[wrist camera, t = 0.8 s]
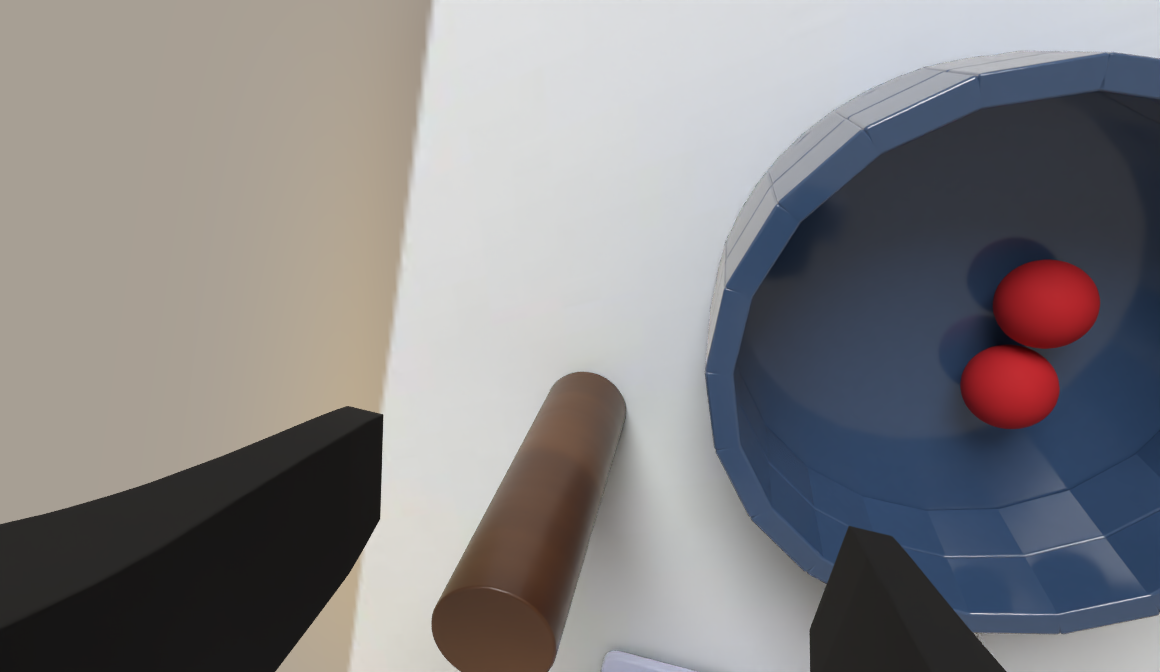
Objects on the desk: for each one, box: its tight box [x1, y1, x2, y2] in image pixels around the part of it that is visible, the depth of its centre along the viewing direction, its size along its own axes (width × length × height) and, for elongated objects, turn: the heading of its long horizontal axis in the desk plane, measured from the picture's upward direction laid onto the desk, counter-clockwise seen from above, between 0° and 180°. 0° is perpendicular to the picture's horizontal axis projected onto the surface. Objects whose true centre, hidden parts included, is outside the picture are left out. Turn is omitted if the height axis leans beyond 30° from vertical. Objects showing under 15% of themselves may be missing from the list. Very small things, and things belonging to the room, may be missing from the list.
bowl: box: [705, 51, 1160, 634], centre depth 16 cm, size 12×12×4 cm
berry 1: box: [993, 260, 1100, 349], centre depth 16 cm, size 2×2×2 cm
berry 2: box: [960, 345, 1060, 429], centre depth 16 cm, size 2×2×2 cm
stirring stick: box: [432, 372, 626, 672], centre depth 17 cm, size 2×2×9 cm
